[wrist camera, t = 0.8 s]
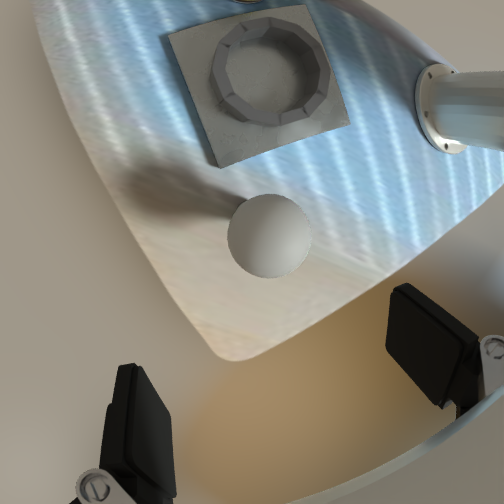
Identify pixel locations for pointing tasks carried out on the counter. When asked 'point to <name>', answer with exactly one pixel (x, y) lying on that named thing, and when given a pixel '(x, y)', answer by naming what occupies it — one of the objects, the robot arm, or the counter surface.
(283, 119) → the socket
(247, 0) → the supplement bottle
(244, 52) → the plate
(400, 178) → the counter surface
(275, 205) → the lightbulb
